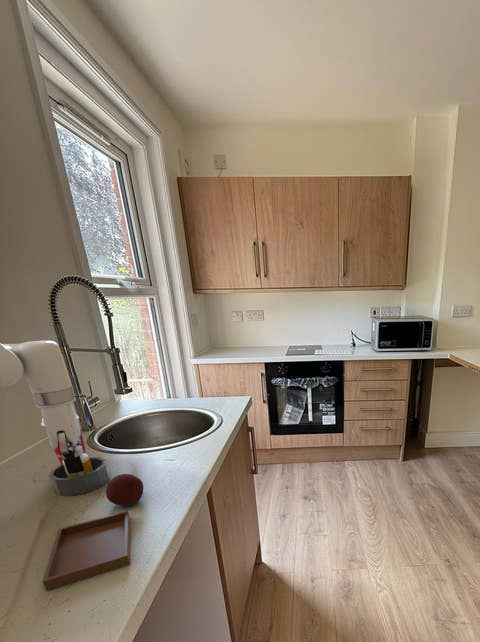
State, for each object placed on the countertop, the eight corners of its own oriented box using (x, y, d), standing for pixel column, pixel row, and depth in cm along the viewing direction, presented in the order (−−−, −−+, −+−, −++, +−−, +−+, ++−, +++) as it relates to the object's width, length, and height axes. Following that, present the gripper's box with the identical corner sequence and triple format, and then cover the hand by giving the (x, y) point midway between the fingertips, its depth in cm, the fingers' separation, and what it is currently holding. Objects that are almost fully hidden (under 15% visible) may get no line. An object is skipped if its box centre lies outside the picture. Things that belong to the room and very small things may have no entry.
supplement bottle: (94, 475, 92) (83, 442, 88) (97, 483, 88) (86, 448, 84) (69, 482, 88) (57, 448, 85) (72, 491, 85) (59, 455, 81)
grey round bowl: (51, 500, 81) (45, 484, 79) (60, 478, 91) (54, 463, 89) (108, 487, 86) (103, 471, 84) (110, 468, 95) (106, 453, 94)
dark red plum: (130, 489, 85) (123, 464, 82) (153, 498, 81) (146, 472, 78) (100, 505, 79) (92, 478, 76) (123, 515, 75) (115, 487, 72)
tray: (46, 591, 57) (42, 581, 56) (61, 536, 69) (58, 528, 68) (130, 564, 62) (127, 555, 61) (130, 518, 74) (128, 510, 73)
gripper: (42, 390, 85) (65, 456, 92) (24, 410, 71) (53, 486, 78) (78, 386, 88) (98, 450, 95) (68, 404, 74) (92, 478, 81)
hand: (78, 466), depth 86 cm, fingers closed on supplement bottle, 5 cm apart
